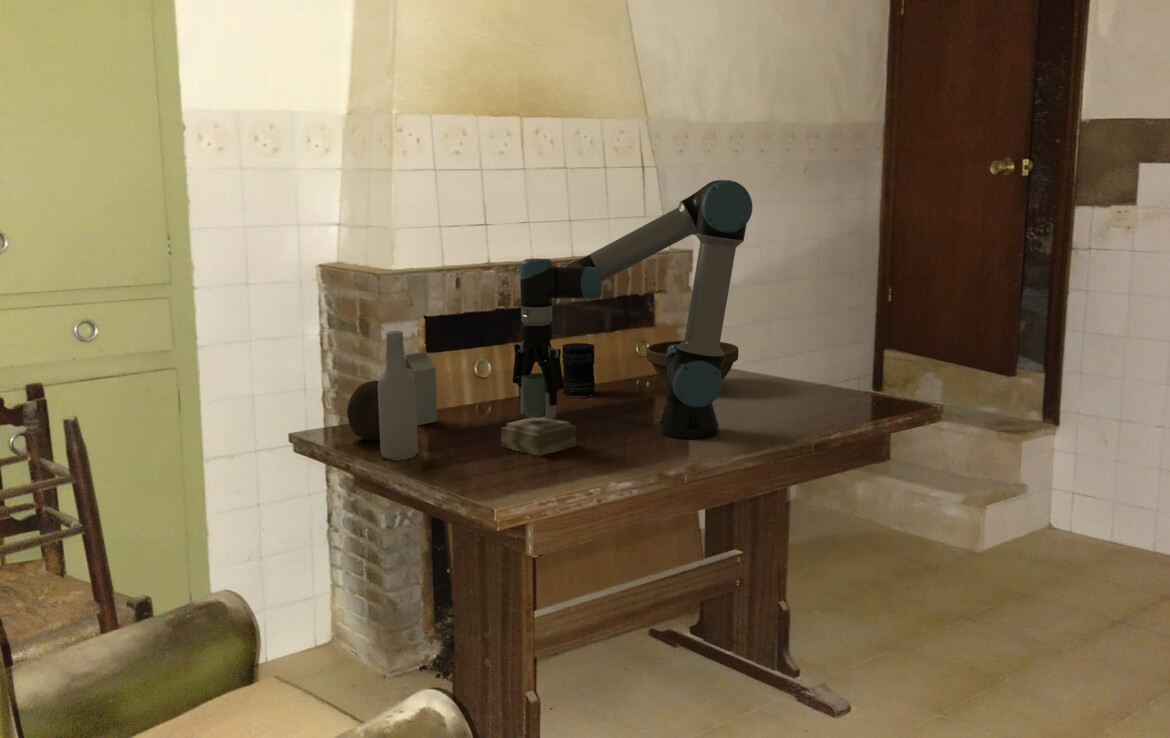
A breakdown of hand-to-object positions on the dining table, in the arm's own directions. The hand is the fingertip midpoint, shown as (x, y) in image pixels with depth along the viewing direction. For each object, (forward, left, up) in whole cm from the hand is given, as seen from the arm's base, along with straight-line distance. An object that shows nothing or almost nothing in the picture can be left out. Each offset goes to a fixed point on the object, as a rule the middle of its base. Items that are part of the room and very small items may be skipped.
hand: (538, 415), depth 258 cm
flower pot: (+14, -81, -8) cm, 83 cm away
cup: (0, 0, 0) cm, 0 cm away
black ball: (+36, +22, -8) cm, 43 cm away
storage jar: (+35, -52, -8) cm, 63 cm away
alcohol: (+19, +28, -8) cm, 35 cm away
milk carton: (+43, +3, -8) cm, 44 cm away
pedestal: (0, 0, -8) cm, 8 cm away
